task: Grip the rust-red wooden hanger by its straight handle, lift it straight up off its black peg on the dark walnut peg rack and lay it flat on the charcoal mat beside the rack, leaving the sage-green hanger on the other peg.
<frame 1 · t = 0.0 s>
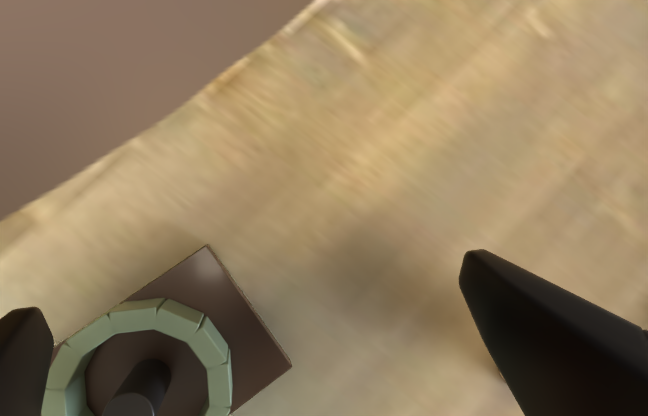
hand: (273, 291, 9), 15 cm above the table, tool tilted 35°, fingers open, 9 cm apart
sage loop: (150, 378, 21), point 1 cm above the table, touching rack
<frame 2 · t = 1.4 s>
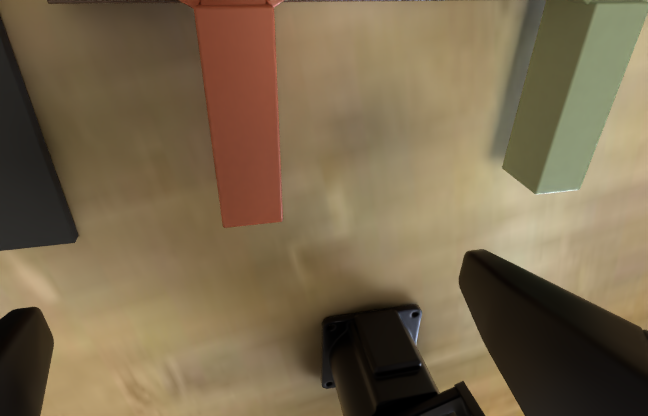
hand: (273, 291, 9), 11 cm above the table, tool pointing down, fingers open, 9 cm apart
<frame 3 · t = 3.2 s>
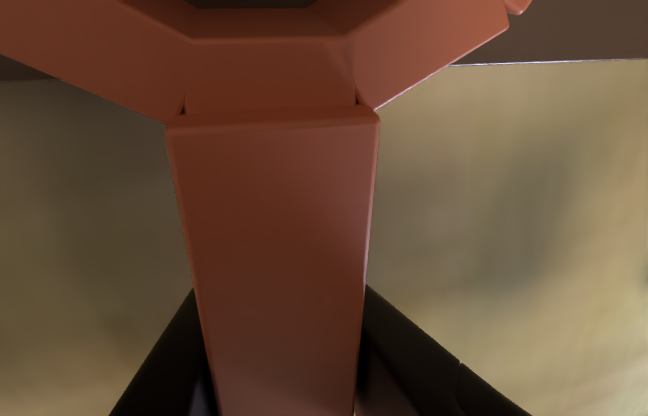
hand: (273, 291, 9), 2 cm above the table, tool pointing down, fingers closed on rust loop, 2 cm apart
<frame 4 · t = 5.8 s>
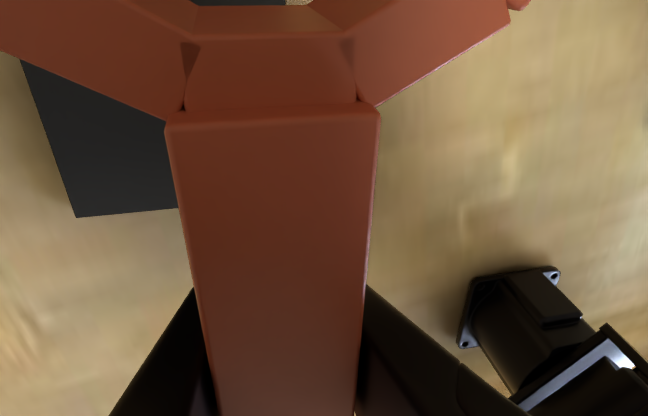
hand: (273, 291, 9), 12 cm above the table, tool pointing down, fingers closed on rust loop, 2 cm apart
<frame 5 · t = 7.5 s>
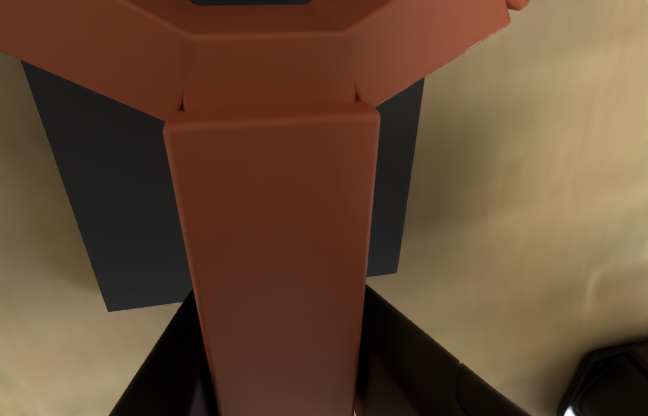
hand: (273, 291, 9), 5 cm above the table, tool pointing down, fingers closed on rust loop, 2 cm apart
when the fingers open (1 cm above the table, at t = 8.7 s): rust loop stays where it is, resting on mat.
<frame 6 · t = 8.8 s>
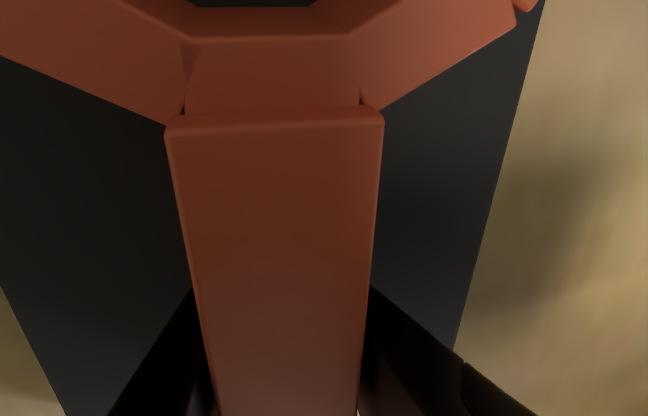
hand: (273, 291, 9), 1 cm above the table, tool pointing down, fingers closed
mat: (250, 4, 7), on the table
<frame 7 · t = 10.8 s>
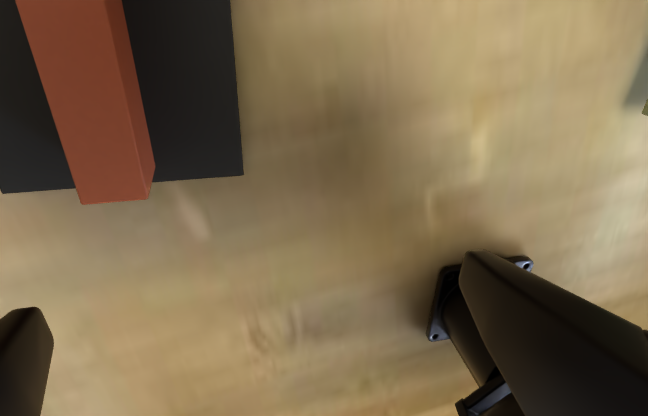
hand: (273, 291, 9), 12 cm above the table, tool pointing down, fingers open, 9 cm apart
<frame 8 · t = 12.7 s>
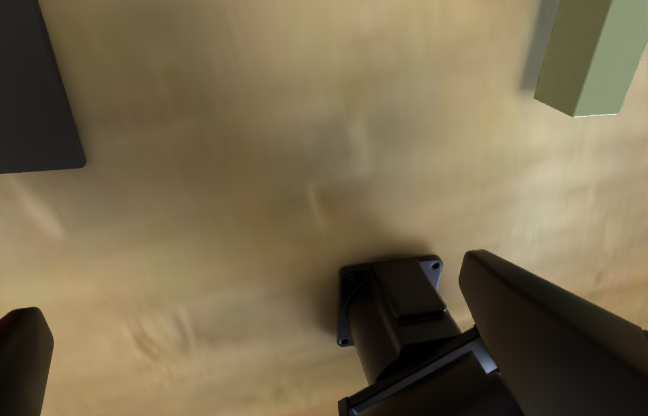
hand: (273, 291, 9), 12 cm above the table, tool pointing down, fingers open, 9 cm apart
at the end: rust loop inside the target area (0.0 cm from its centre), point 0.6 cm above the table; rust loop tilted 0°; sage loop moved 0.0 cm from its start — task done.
